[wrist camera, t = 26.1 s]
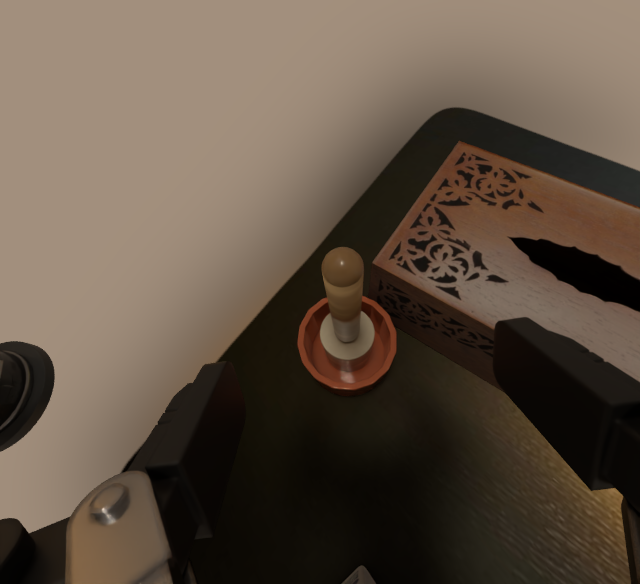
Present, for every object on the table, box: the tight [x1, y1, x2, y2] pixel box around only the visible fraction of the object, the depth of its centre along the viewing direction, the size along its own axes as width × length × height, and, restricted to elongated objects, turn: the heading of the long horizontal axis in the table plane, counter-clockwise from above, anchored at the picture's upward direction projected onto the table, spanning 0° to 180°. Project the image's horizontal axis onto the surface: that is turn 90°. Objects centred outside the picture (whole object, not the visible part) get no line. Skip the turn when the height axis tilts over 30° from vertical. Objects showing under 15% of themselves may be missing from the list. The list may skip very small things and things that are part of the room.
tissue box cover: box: [368, 141, 640, 391], centre depth 26 cm, size 26×14×10 cm, turn 54°
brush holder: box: [298, 296, 397, 396], centre depth 28 cm, size 8×8×6 cm
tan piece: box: [320, 247, 375, 372], centre depth 22 cm, size 4×4×18 cm
